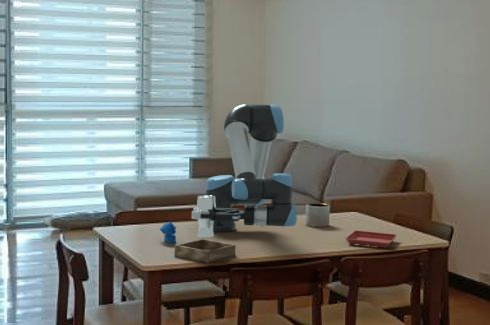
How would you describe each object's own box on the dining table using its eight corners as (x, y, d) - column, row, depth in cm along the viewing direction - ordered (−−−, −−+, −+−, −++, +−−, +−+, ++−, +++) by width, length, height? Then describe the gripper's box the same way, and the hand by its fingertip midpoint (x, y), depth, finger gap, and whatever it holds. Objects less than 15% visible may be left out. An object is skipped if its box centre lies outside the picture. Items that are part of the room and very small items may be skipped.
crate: (174, 255, 280) (174, 245, 280) (202, 248, 293) (202, 238, 293) (207, 262, 271) (208, 251, 270) (235, 255, 283) (235, 244, 283)
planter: (333, 225, 351) (334, 204, 350) (322, 228, 342) (323, 207, 341) (312, 222, 357) (313, 202, 356) (301, 225, 348) (302, 204, 347)
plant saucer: (389, 250, 301) (389, 242, 301) (344, 245, 308) (345, 237, 307) (397, 242, 318) (397, 234, 318) (354, 237, 325) (355, 230, 324)
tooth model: (196, 234, 284) (196, 194, 283) (214, 234, 285) (215, 195, 283) (196, 238, 277) (197, 197, 276) (215, 238, 278) (216, 197, 276)
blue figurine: (171, 222, 311) (183, 220, 301) (172, 242, 310) (184, 241, 300) (155, 223, 307) (167, 222, 298) (156, 244, 307) (168, 243, 297)
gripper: (254, 230, 270) (190, 228, 271) (254, 220, 290) (194, 218, 290) (255, 209, 270) (190, 207, 270) (255, 201, 289) (194, 199, 290)
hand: (192, 213), depth 280 cm, fingers closed on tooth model, 7 cm apart
